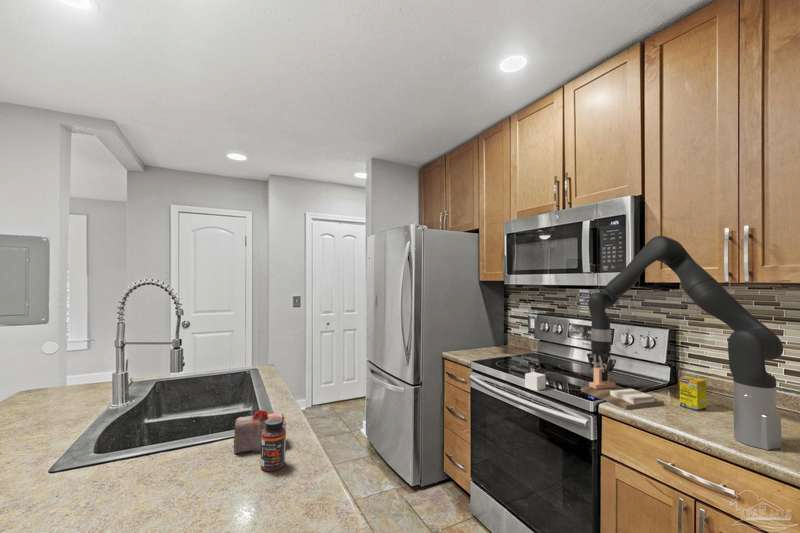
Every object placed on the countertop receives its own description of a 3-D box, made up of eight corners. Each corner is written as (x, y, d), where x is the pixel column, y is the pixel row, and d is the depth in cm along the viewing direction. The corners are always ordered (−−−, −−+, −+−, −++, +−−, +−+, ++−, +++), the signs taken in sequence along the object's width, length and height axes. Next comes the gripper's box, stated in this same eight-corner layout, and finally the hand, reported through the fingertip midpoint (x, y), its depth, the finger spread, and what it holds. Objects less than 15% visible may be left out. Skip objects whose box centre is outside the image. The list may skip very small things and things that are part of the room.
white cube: (537, 391, 155) (537, 376, 155) (525, 387, 160) (525, 373, 160) (545, 388, 159) (545, 374, 159) (533, 385, 164) (533, 371, 164)
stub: (615, 387, 155) (615, 368, 155) (596, 389, 152) (596, 370, 153) (607, 384, 159) (607, 366, 159) (588, 386, 156) (588, 368, 156)
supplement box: (679, 406, 138) (679, 377, 138) (688, 404, 140) (688, 375, 141) (697, 411, 132) (697, 381, 133) (706, 409, 135) (706, 379, 135)
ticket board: (663, 405, 139) (663, 395, 139) (626, 409, 134) (626, 399, 134) (615, 387, 160) (614, 379, 160) (581, 391, 155) (581, 382, 155)
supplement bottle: (261, 474, 89) (261, 427, 89) (259, 462, 94) (260, 418, 94) (286, 469, 91) (287, 423, 91) (284, 458, 97) (284, 415, 97)
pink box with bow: (283, 436, 110) (283, 403, 110) (286, 448, 102) (287, 412, 103) (233, 445, 104) (234, 410, 104) (233, 457, 97) (233, 420, 97)
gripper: (621, 341, 151) (622, 383, 151) (595, 336, 165) (595, 375, 164) (607, 342, 149) (607, 385, 149) (581, 336, 162) (581, 376, 162)
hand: (601, 379), depth 156 cm, fingers closed on stub, 3 cm apart
